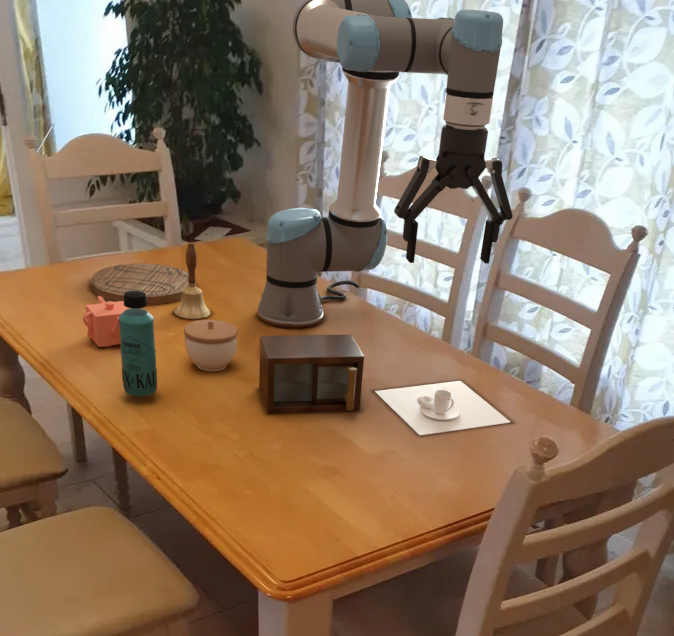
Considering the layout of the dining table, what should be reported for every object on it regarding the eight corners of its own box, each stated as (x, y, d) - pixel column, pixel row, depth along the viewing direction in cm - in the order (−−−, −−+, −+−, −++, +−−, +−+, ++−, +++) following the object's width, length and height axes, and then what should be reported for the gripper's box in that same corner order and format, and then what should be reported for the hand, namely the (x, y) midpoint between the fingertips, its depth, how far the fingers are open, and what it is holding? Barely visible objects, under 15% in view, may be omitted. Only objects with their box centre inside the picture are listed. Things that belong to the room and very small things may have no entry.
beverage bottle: (125, 389, 176) (117, 286, 164) (160, 390, 176) (154, 287, 164) (121, 404, 170) (113, 298, 158) (157, 405, 171) (151, 299, 159)
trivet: (111, 266, 233) (110, 259, 232) (205, 277, 232) (205, 269, 230) (75, 298, 213) (74, 290, 212) (178, 309, 212) (178, 301, 210)
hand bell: (216, 310, 213) (215, 240, 203) (200, 322, 206) (198, 250, 197) (184, 304, 215) (182, 234, 205) (168, 315, 208) (164, 244, 199)
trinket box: (228, 379, 183) (228, 333, 177) (178, 371, 184) (176, 326, 178) (243, 359, 191) (243, 315, 185) (195, 352, 192) (193, 308, 187)
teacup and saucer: (410, 404, 178) (413, 385, 176) (445, 400, 181) (448, 381, 179) (431, 424, 172) (434, 404, 170) (467, 419, 175) (470, 399, 172)
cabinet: (347, 387, 183) (351, 334, 177) (359, 410, 175) (364, 356, 168) (259, 389, 180) (259, 335, 173) (267, 413, 171) (268, 358, 165)
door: (350, 400, 175) (354, 358, 170) (357, 412, 171) (360, 370, 166) (311, 401, 173) (314, 359, 168) (317, 414, 169) (319, 370, 164)
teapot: (128, 325, 202) (125, 288, 197) (151, 350, 192) (149, 311, 187) (75, 332, 197) (71, 293, 192) (96, 357, 187) (92, 318, 182)
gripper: (395, 126, 140) (382, 267, 152) (546, 132, 144) (522, 267, 157) (384, 118, 146) (373, 253, 158) (530, 123, 150) (507, 255, 163)
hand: (447, 261), depth 158 cm, fingers open, 13 cm apart
